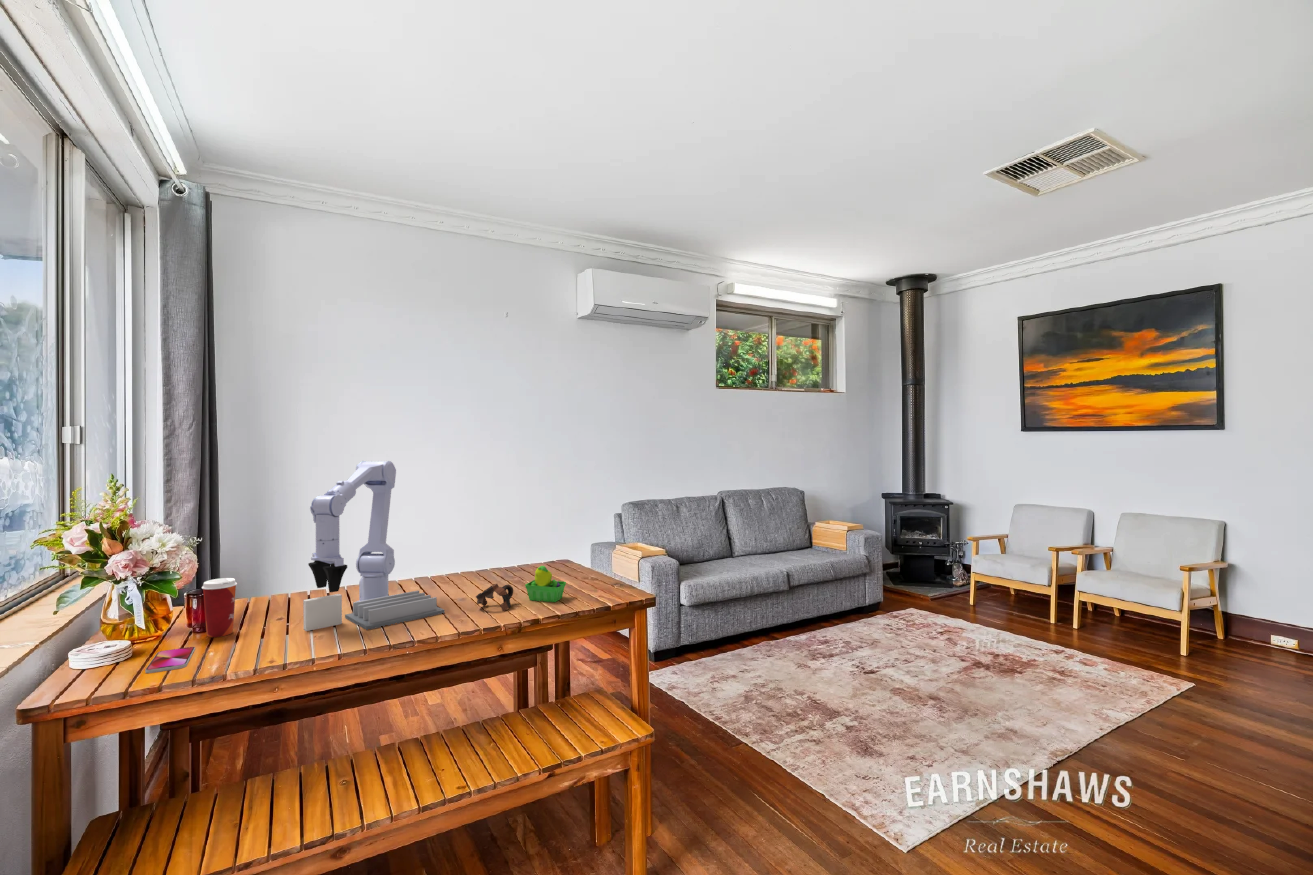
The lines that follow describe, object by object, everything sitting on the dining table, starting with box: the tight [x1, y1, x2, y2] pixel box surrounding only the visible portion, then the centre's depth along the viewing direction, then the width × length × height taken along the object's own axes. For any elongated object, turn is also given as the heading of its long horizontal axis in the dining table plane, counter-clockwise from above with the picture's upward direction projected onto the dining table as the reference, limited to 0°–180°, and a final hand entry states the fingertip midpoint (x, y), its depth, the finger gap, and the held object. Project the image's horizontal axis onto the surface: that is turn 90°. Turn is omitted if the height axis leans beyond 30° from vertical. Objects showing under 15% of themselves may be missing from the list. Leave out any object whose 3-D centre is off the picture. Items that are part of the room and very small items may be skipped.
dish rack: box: [344, 590, 446, 631], centre depth 179 cm, size 16×22×4 cm
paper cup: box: [201, 577, 238, 638], centre depth 163 cm, size 8×8×14 cm
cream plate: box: [302, 593, 343, 632], centre depth 169 cm, size 2×9×8 cm, turn 135°
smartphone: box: [144, 646, 196, 674], centre depth 144 cm, size 7×1×15 cm
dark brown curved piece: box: [475, 583, 514, 612], centre depth 187 cm, size 12×10×8 cm
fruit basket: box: [524, 565, 567, 603], centre depth 195 cm, size 11×9×11 cm
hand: (327, 589), depth 168 cm, fingers open, 7 cm apart
